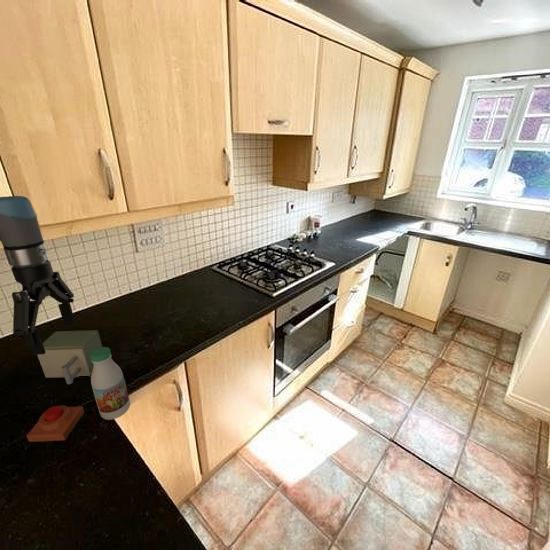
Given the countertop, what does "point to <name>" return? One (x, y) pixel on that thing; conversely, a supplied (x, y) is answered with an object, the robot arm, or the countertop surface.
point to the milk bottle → (108, 385)
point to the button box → (56, 425)
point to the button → (53, 413)
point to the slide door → (64, 363)
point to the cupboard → (75, 342)
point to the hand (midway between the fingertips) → (55, 338)
